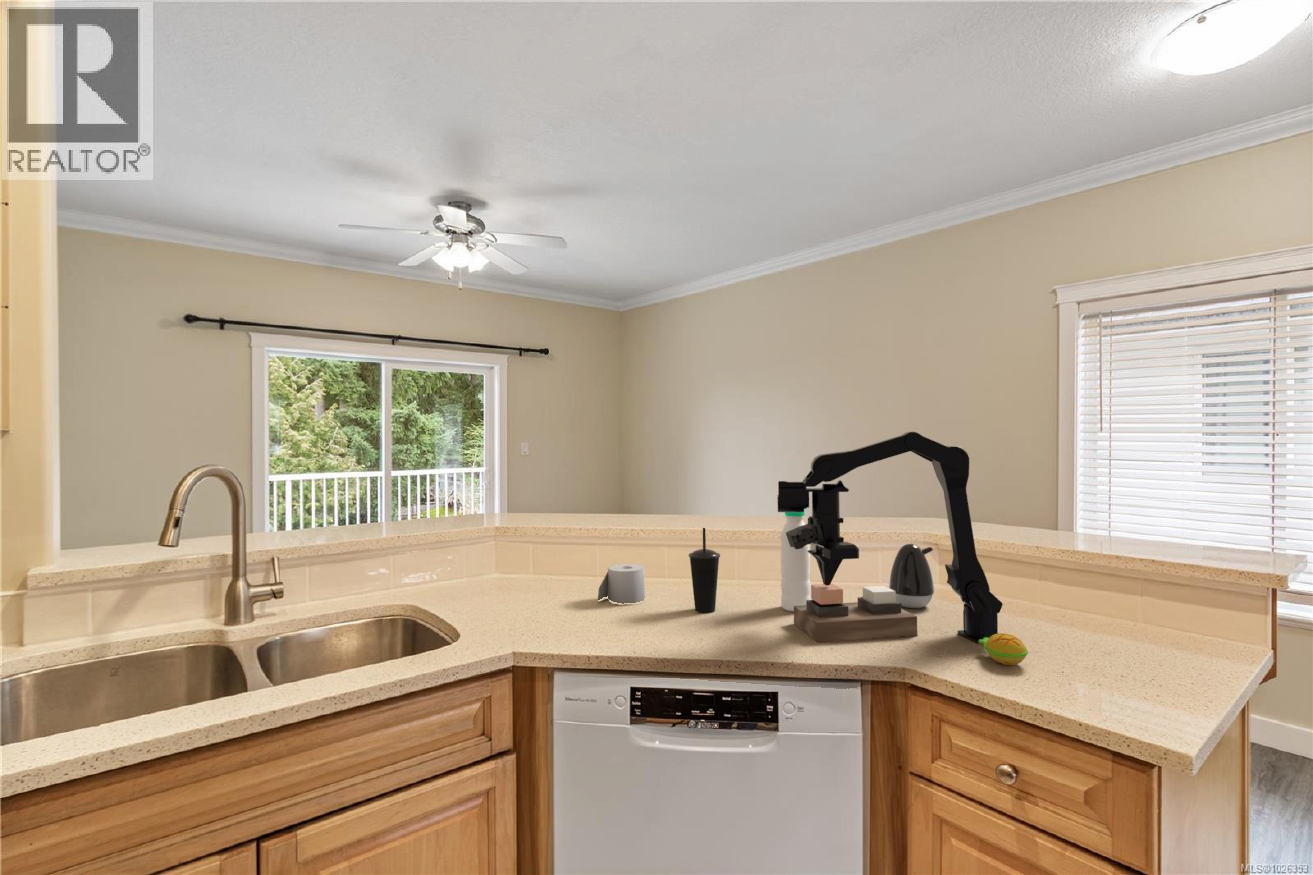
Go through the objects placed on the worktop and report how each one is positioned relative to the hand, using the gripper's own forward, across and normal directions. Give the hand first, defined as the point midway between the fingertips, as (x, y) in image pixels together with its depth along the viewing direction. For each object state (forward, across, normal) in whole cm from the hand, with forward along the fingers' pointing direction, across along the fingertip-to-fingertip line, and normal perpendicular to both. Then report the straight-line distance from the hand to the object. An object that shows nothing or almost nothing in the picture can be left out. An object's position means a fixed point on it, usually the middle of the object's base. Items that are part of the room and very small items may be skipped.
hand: (826, 585), depth 134 cm
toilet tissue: (+10, -34, -41) cm, 54 cm away
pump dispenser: (+10, -15, +29) cm, 34 cm away
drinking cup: (+10, -21, -22) cm, 32 cm away
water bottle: (+10, -18, 0) cm, 21 cm away
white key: (+5, 0, +12) cm, 13 cm away
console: (+10, 0, +6) cm, 12 cm away
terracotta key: (+3, 0, 0) cm, 3 cm away
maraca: (+10, +23, +24) cm, 35 cm away
